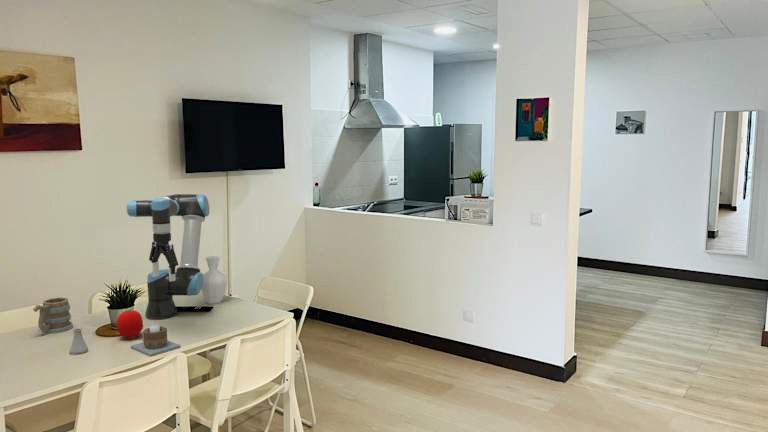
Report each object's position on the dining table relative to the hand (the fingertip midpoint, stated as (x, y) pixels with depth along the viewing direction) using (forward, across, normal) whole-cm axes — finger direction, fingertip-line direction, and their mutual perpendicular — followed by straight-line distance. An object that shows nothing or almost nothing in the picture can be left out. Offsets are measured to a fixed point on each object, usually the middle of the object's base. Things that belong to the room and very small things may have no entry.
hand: (164, 278), depth 265 cm
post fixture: (+27, +11, -12) cm, 31 cm away
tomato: (+27, -10, -12) cm, 31 cm away
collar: (+25, +11, -12) cm, 30 cm away
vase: (+27, -30, +47) cm, 62 cm away
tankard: (+27, -47, -31) cm, 62 cm away
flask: (+27, -10, -35) cm, 45 cm away
